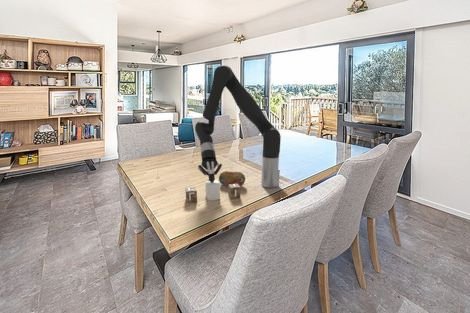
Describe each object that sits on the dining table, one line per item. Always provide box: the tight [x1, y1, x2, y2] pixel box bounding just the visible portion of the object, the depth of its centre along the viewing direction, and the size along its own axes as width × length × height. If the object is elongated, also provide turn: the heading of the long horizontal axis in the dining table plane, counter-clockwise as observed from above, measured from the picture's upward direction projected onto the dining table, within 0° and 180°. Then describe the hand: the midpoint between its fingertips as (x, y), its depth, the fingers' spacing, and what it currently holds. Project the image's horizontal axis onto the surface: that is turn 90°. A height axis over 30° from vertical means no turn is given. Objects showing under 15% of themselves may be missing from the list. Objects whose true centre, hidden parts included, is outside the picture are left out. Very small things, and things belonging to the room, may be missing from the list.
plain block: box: [205, 179, 221, 201], centre depth 136 cm, size 6×6×8 cm
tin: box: [218, 170, 246, 187], centre depth 153 cm, size 15×3×8 cm, turn 76°
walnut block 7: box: [185, 186, 198, 204], centre depth 132 cm, size 5×5×6 cm
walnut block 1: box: [227, 184, 241, 200], centre depth 138 cm, size 5×5×6 cm
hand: (212, 181), depth 135 cm, fingers closed
